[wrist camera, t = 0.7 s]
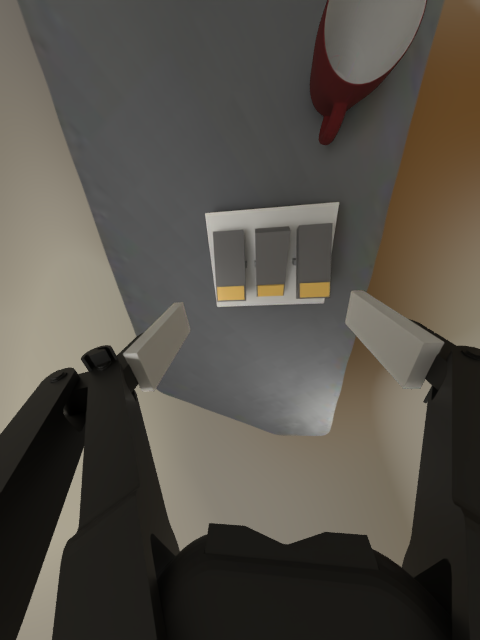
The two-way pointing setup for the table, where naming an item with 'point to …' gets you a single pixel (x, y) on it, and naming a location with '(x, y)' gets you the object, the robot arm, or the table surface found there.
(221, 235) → the rocker
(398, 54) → the mug
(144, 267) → the table surface
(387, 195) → the table surface
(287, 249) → the rocker
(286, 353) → the table surface
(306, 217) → the switch unit
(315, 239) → the rocker
